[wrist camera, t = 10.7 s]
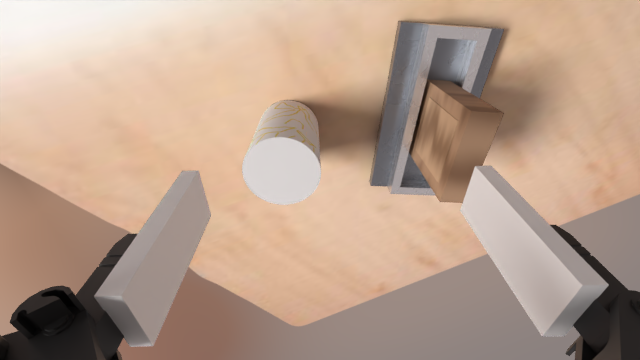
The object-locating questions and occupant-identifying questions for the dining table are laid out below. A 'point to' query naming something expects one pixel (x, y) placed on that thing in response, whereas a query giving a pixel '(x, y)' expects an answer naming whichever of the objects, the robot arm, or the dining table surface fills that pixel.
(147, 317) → the robot arm
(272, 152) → the yellow-veined white cylinder
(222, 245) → the dining table surface
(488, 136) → the door panel
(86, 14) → the dining table surface
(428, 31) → the track
